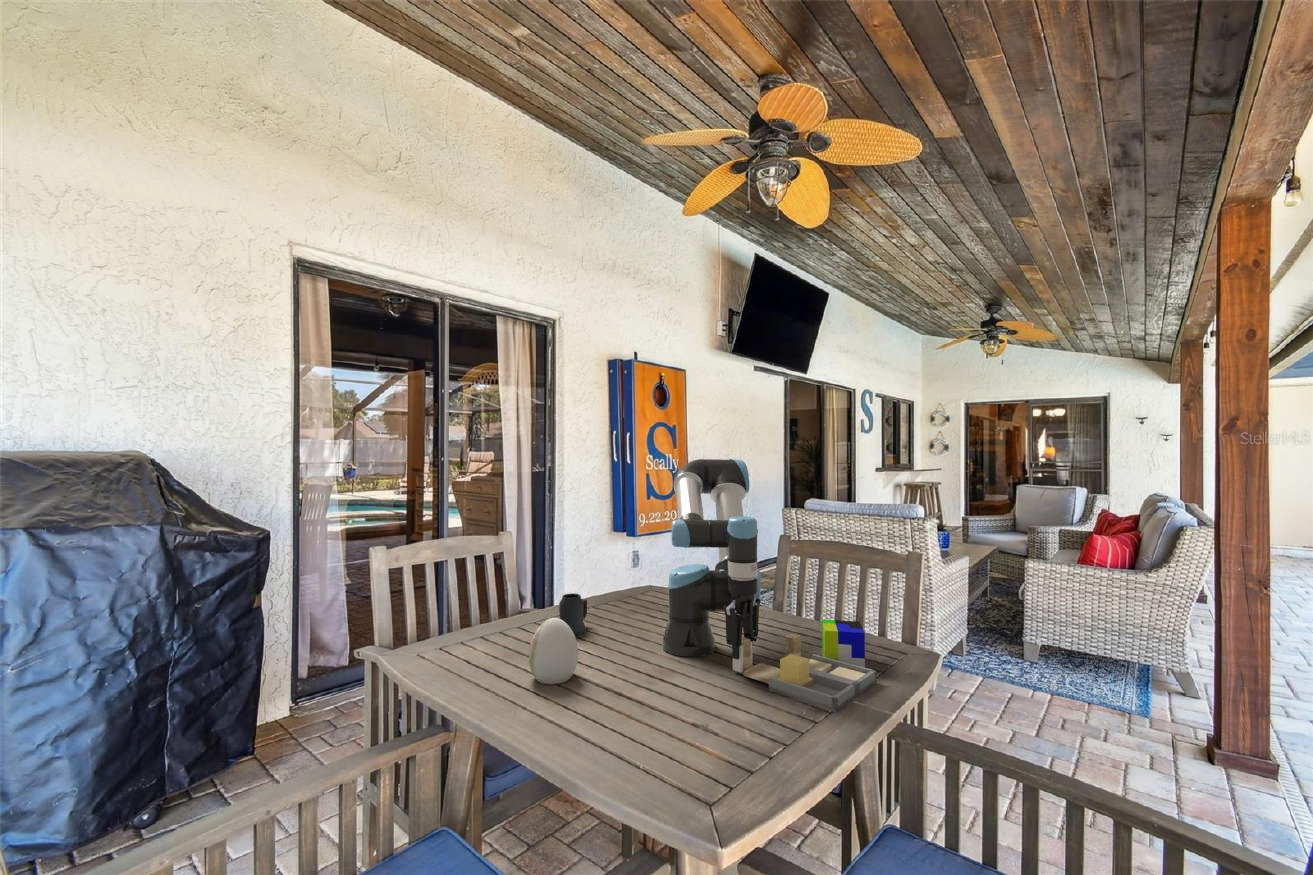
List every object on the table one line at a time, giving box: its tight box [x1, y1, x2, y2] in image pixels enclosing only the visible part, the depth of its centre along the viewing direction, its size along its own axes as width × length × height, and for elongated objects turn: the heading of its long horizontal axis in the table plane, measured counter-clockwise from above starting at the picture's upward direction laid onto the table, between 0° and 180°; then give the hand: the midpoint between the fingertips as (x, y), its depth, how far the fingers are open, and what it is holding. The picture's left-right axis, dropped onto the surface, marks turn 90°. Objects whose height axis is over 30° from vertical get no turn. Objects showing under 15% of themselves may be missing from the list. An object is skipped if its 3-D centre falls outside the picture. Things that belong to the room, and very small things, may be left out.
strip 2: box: [784, 633, 832, 672], centre depth 152 cm, size 10×8×8 cm
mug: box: [558, 592, 588, 637], centre depth 187 cm, size 12×9×11 cm
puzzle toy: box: [821, 619, 866, 668], centre depth 159 cm, size 10×10×10 cm
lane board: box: [768, 653, 877, 713], centre depth 143 cm, size 17×22×3 cm
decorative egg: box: [528, 617, 579, 685], centre depth 148 cm, size 12×12×15 cm
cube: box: [779, 654, 810, 686], centre depth 142 cm, size 5×5×5 cm
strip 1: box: [734, 636, 814, 687], centre depth 146 cm, size 19×8×8 cm, turn 47°
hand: (742, 668), depth 152 cm, fingers closed on strip 1, 3 cm apart
